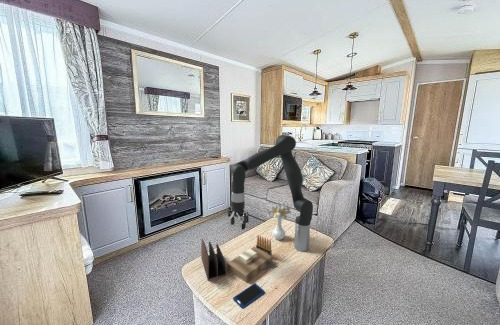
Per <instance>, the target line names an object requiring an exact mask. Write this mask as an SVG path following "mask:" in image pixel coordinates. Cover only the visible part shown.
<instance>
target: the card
mask: <svg viewBox="0 0 500 325" xmlns="http://www.w3.org/2000/svg"><path fill="white" fill-rule="evenodd" d="M238 256H239V260H240V261H242V262H244V263H245V264H247V263H249V262H250V261H252V260H253V259H254V258H256V257H257V252H255V251H253V250H251V248H248V249H246V250H244V251H243V252H241V253H240V254H238Z"/></svg>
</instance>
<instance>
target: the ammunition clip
mask: <svg viewBox="0 0 500 325" xmlns="http://www.w3.org/2000/svg"><path fill="white" fill-rule="evenodd" d="M255 247H256V248H258V249H260V250H262V251H264V252H266V253H268V254H269V255H271V256H272V257H273V255H272V254H273V253H272V252H273V251H272V240H271V239H269V238H266V237H264V236H261V235H260V236H259V234H257V239H256V246H255Z"/></svg>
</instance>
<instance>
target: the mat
mask: <svg viewBox="0 0 500 325" xmlns="http://www.w3.org/2000/svg"><path fill="white" fill-rule="evenodd" d="M278 268H279V266H277V265H276V264H274V263H273V262H272V263H270V264H269V265H268V266H266V267H265V268H264V269H263V270H262V271H265V270H268V269H273V270H274V269H278Z"/></svg>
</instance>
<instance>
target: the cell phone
mask: <svg viewBox="0 0 500 325" xmlns="http://www.w3.org/2000/svg"><path fill="white" fill-rule="evenodd" d="M265 293H266V292H265V290H264V289H263V288H262V287H261V286H259V285H258V284H257V283H253V284H251V285H250V286H248V287H246V288H245V289H244V290H242V291H241V292H239V293H237V294H236V295H235V296H233V297H232V299H233V301H234V302H235V303H236V304H237V305H238V306H239V307H240V308H241V309H245V308H247V307H248V306H249V305H251V304H252V303H253V302H254V301H257V300H258V299H259V298H260V297H262V296H263V295H264V294H265Z"/></svg>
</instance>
